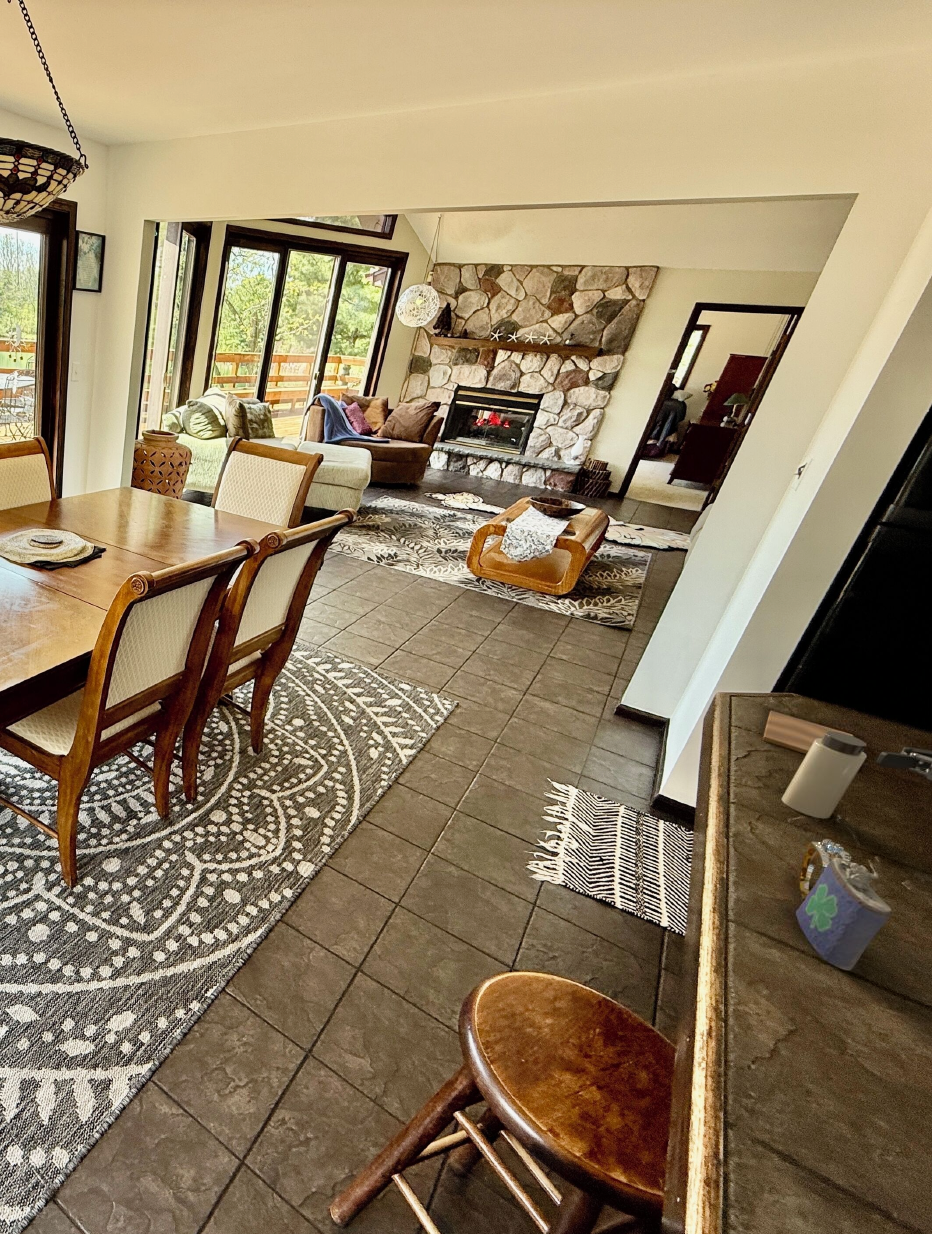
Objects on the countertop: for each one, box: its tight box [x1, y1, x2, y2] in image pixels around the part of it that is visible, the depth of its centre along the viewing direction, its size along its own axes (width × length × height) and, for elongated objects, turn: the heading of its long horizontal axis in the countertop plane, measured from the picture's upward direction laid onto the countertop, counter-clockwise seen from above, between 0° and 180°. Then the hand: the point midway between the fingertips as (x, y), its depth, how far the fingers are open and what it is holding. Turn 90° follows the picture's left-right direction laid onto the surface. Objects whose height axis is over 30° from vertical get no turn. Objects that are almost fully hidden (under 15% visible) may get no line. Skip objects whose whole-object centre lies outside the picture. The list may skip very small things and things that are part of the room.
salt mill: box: [781, 731, 868, 819], centre depth 95 cm, size 5×5×12 cm
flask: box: [795, 857, 893, 971], centre depth 70 cm, size 9×3×11 cm, turn 150°
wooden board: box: [762, 710, 854, 755], centre depth 117 cm, size 16×11×1 cm
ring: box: [797, 838, 852, 900], centre depth 78 cm, size 7×3×8 cm, turn 138°
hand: (907, 774), depth 93 cm, fingers open, 8 cm apart
